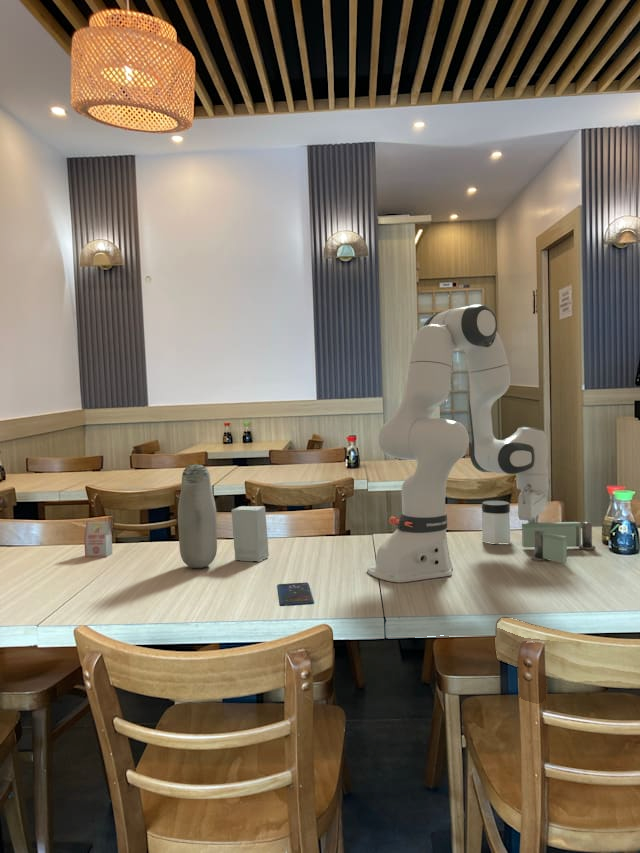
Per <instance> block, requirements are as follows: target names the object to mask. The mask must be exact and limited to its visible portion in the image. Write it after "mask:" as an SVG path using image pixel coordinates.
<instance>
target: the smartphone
mask: <svg viewBox="0 0 640 853" xmlns="http://www.w3.org/2000/svg"><path fill="white" fill-rule="evenodd" d="M311 590H312V589H311V587H310V584H309V582H293V583H292V582H291V583H278V584H277V593H278V602H279V606H281V607H285V606H296V605H299V606H300V605H314V604H315V600H314V598H313V597H314V596H313V595H312V591H311Z"/></svg>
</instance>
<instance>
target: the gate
mask: <svg viewBox="0 0 640 853" xmlns="http://www.w3.org/2000/svg"><path fill="white" fill-rule="evenodd" d="M535 531H544V532H545V533H546V532H547V533H552V534H557V535H561V536H566V537H567V548H568V547H569V548H571V547H572V548H573V547H578V548H579V547H580V546H581V545H582V522H579V521H562V522H561V521H559V522H557V521H556V522H554V521H553V522H552V521H551V522H548V521H547V522H538V523H528V522H521V532H522V533H521V539H522V545H521V546H522V547H523V548H535Z"/></svg>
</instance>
